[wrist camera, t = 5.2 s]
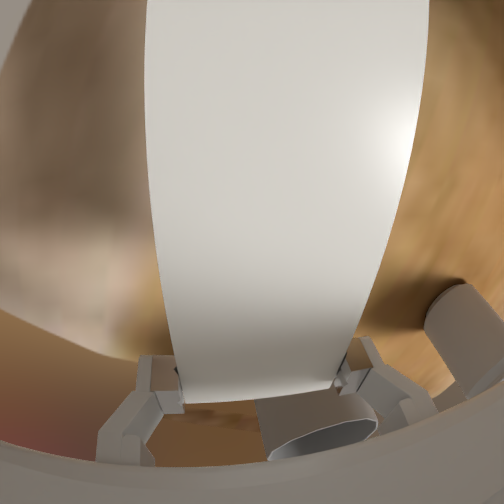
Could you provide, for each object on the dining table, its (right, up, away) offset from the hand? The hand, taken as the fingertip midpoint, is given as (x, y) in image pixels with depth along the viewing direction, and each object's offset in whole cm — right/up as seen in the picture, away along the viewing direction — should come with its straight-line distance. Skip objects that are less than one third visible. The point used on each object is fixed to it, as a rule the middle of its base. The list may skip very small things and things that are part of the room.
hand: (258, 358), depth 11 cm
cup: (+3, -4, +15) cm, 16 cm away
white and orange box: (0, +6, -2) cm, 7 cm away
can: (+21, -2, +17) cm, 27 cm away
